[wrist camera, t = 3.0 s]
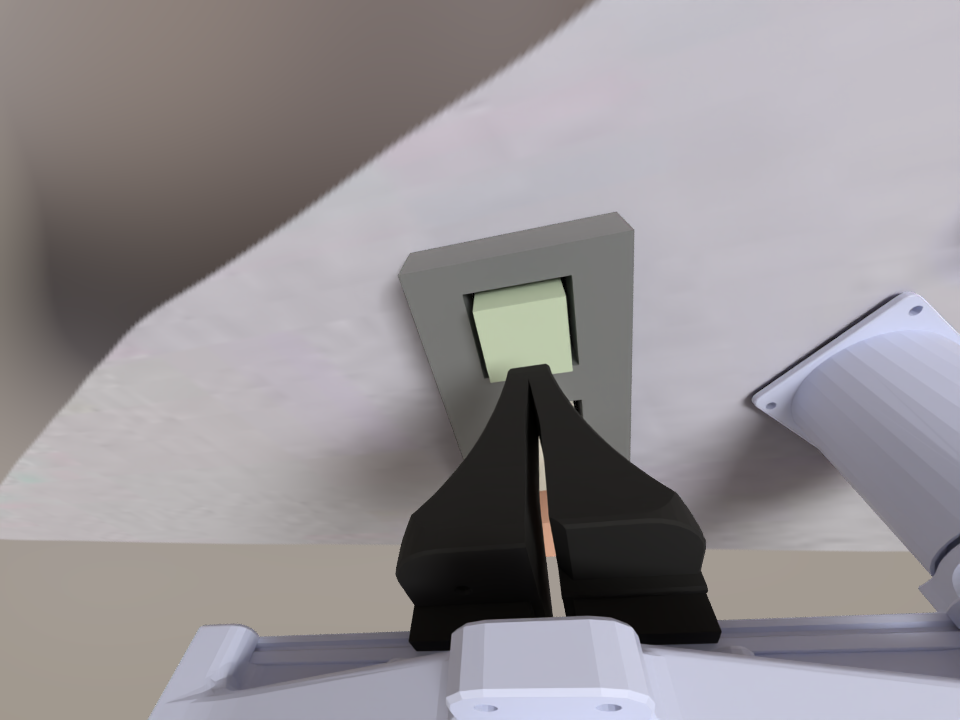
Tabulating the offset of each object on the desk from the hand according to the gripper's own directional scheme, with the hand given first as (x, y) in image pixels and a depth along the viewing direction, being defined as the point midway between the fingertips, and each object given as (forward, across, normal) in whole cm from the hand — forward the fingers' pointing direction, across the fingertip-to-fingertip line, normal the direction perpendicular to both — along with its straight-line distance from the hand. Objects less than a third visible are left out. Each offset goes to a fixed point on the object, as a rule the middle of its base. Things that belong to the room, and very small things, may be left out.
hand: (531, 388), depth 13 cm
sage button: (+6, 0, 0) cm, 6 cm away
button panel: (+6, 0, +6) cm, 9 cm away
